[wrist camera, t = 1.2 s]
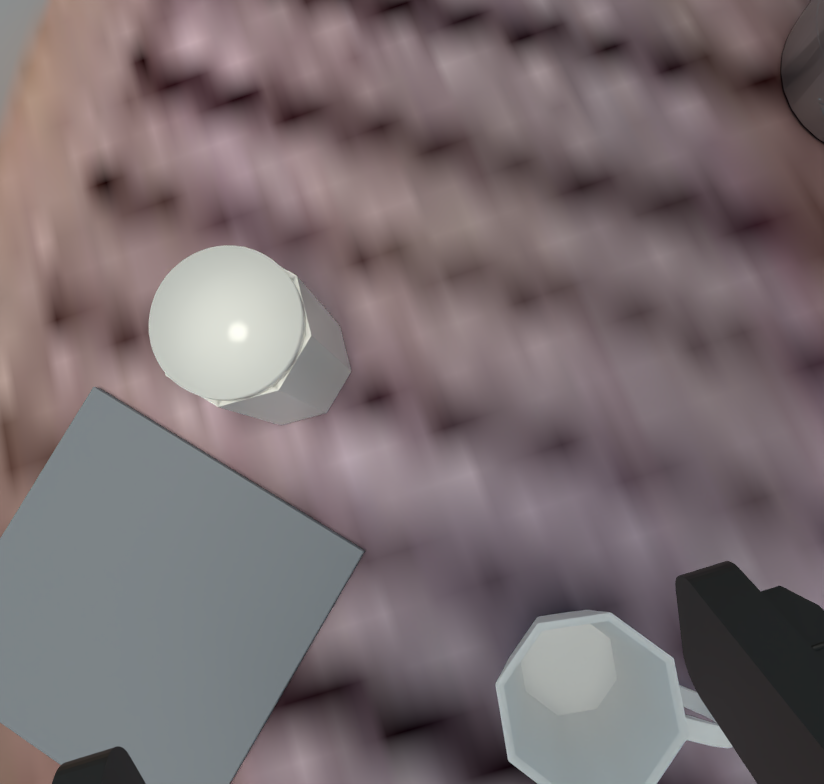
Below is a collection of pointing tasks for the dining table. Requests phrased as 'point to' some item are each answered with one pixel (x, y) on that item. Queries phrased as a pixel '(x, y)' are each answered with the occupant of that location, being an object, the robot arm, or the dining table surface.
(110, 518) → the rubber mat
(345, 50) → the dining table surface
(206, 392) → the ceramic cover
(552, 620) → the cup
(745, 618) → the robot arm
